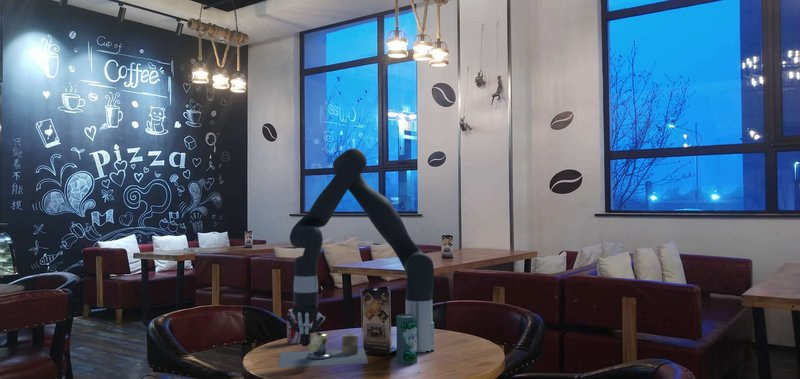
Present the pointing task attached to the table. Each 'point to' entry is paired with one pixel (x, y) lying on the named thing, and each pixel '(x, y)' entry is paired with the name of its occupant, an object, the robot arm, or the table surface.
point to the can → (406, 339)
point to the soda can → (292, 332)
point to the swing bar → (317, 341)
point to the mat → (337, 359)
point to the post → (320, 353)
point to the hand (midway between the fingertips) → (305, 345)
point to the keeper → (350, 344)
